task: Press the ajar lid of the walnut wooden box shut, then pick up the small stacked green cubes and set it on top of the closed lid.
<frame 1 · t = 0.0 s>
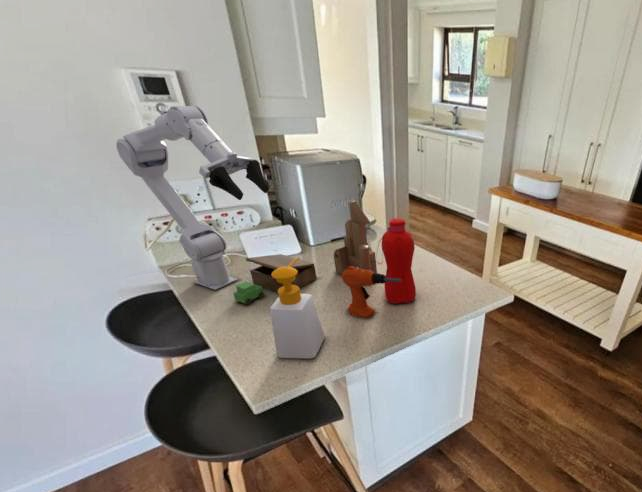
hand: (254, 193, 91), 32 cm above the countertop, tool tilted 50°, fingers open, 7 cm apart
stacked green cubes: (250, 299, 110), on the countertop
soap bottle: (305, 343, 94), on the countertop
toy drill: (375, 316, 106), on the countertop
wooden toy: (357, 276, 126), on the countertop
wooden box: (285, 281, 120), on the countertop
water bottle: (397, 298, 115), on the countertop
lid: (281, 262, 116), point 7 cm above the countertop, hinge at 15.0°
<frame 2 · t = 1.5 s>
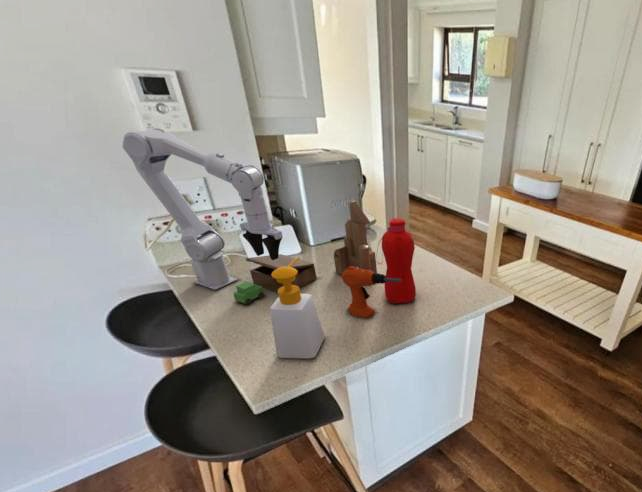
hand: (267, 256, 111), 10 cm above the countertop, tool pointing down, fingers open, 5 cm apart
nothing on the countertop moved.
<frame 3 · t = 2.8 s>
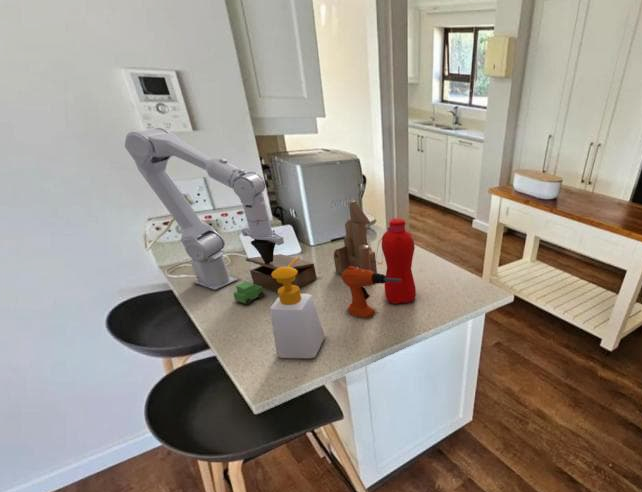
hand: (269, 261, 112), 9 cm above the countertop, tool pointing down, fingers closed, pressing on lid
lid: (281, 262, 116), point 7 cm above the countertop, hinge at 14.7°, touching gripper
everything else where it was.
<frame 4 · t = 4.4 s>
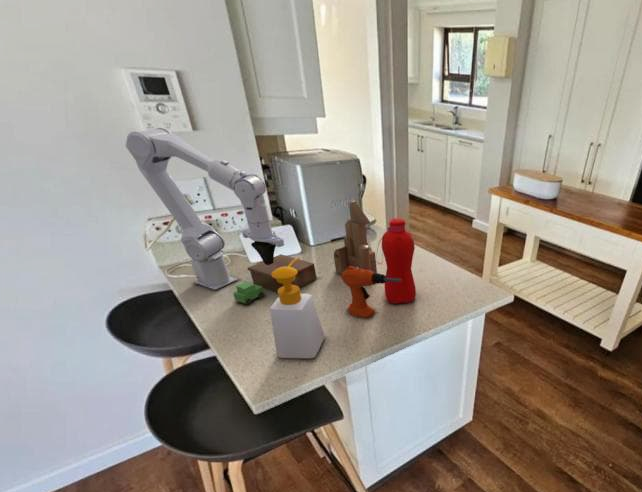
hand: (269, 263, 112), 8 cm above the countertop, tool pointing down, fingers closed
lid: (281, 266, 117), point 5 cm above the countertop, hinge at 1.5°
everything else where it was.
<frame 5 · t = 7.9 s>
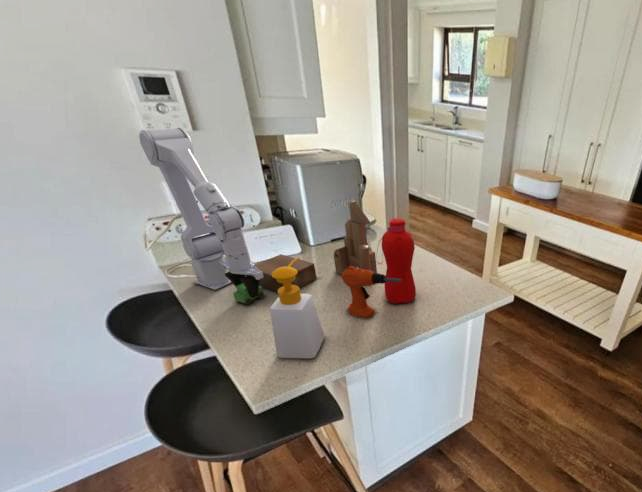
hand: (249, 294, 109), 2 cm above the countertop, tool pointing down, fingers closed on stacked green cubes, 4 cm apart
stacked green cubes: (250, 299, 110), on the countertop, touching gripper
everything else where it was.
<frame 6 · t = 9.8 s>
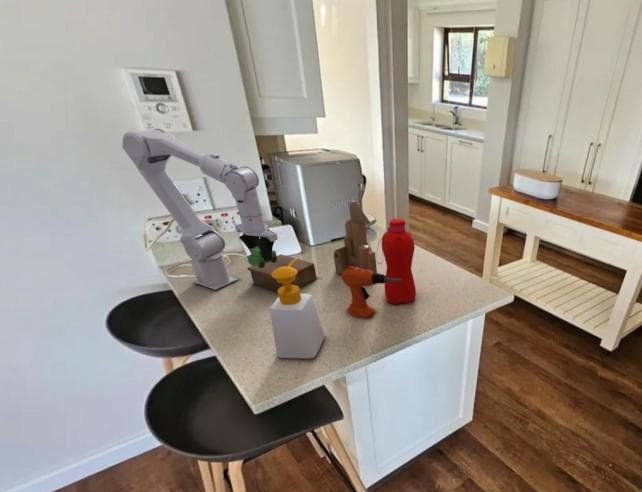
hand: (263, 258, 110), 10 cm above the countertop, tool pointing down, fingers closed on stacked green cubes, 4 cm apart
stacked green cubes: (264, 263, 111), point 9 cm above the countertop, touching gripper
everything else where it was.
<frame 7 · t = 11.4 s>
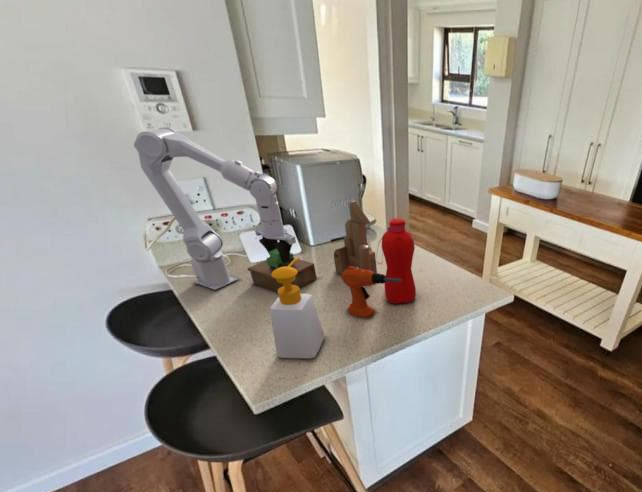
hand: (281, 260, 116), 7 cm above the countertop, tool pointing down, fingers closed on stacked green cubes, 4 cm apart
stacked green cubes: (282, 265, 117), point 6 cm above the countertop, touching gripper, lid
lid: (281, 266, 117), point 5 cm above the countertop, hinge at 0.9°, touching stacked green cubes
everything else where it was.
when the fingers open (7 cm above the countertop, at t = 11.6 s): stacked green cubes stays where it is, resting on lid.
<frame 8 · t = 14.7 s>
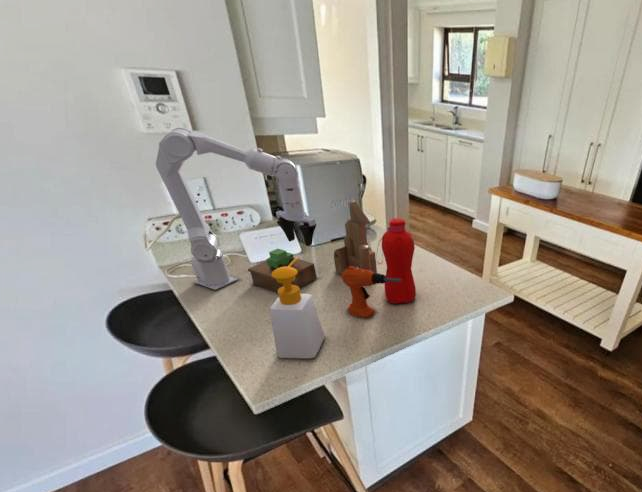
hand: (300, 242, 121), 10 cm above the countertop, tool pointing down, fingers open, 7 cm apart
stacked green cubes: (282, 265, 117), point 6 cm above the countertop, touching lid
lid: (281, 267, 117), point 5 cm above the countertop, hinge at -0.2°, touching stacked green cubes, wooden box
everything else where it was.
at the end: lid at +0° (first picture: +15°); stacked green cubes inside the target area on the wooden box (0.0 cm from its centre), point 5.6 cm above the wooden box's base; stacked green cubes tilted 0° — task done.
